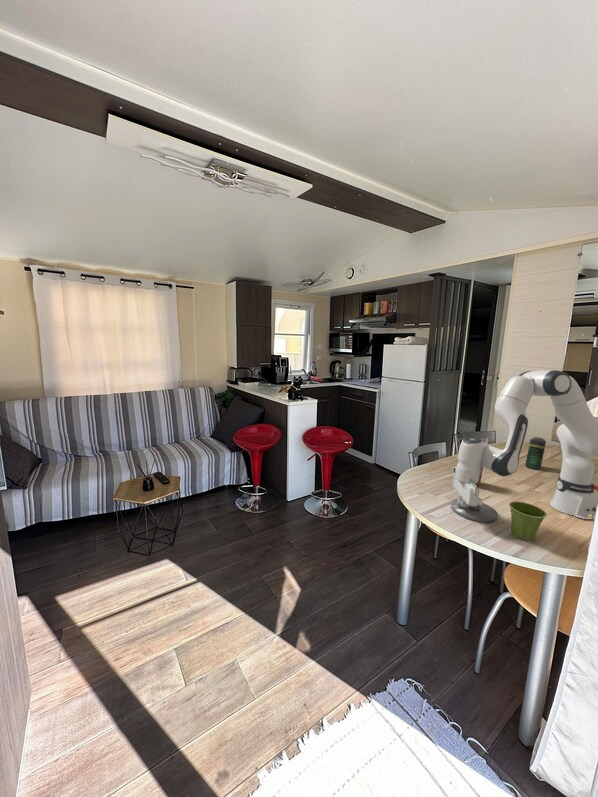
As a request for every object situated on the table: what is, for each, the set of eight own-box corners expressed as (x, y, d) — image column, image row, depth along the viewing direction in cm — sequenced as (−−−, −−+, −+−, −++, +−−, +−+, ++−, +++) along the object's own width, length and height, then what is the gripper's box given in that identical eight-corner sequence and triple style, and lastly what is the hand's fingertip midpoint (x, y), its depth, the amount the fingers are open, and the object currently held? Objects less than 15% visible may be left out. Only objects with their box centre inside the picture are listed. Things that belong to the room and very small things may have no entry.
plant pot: (534, 549, 120) (539, 520, 118) (499, 532, 129) (504, 506, 127) (546, 538, 127) (551, 511, 125) (512, 524, 136) (516, 498, 134)
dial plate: (486, 504, 152) (487, 500, 152) (505, 525, 135) (505, 521, 134) (446, 499, 154) (446, 496, 154) (458, 520, 137) (459, 516, 137)
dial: (478, 505, 146) (479, 496, 146) (482, 511, 141) (484, 502, 141) (455, 503, 148) (456, 494, 147) (459, 508, 143) (460, 499, 142)
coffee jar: (539, 471, 197) (545, 441, 194) (523, 467, 202) (529, 438, 199) (541, 467, 204) (547, 438, 201) (526, 463, 210) (531, 435, 206)
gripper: (485, 486, 129) (480, 519, 132) (466, 467, 149) (462, 495, 151) (468, 485, 130) (463, 517, 132) (451, 465, 150) (447, 494, 152)
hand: (462, 505), depth 142 cm, fingers closed
